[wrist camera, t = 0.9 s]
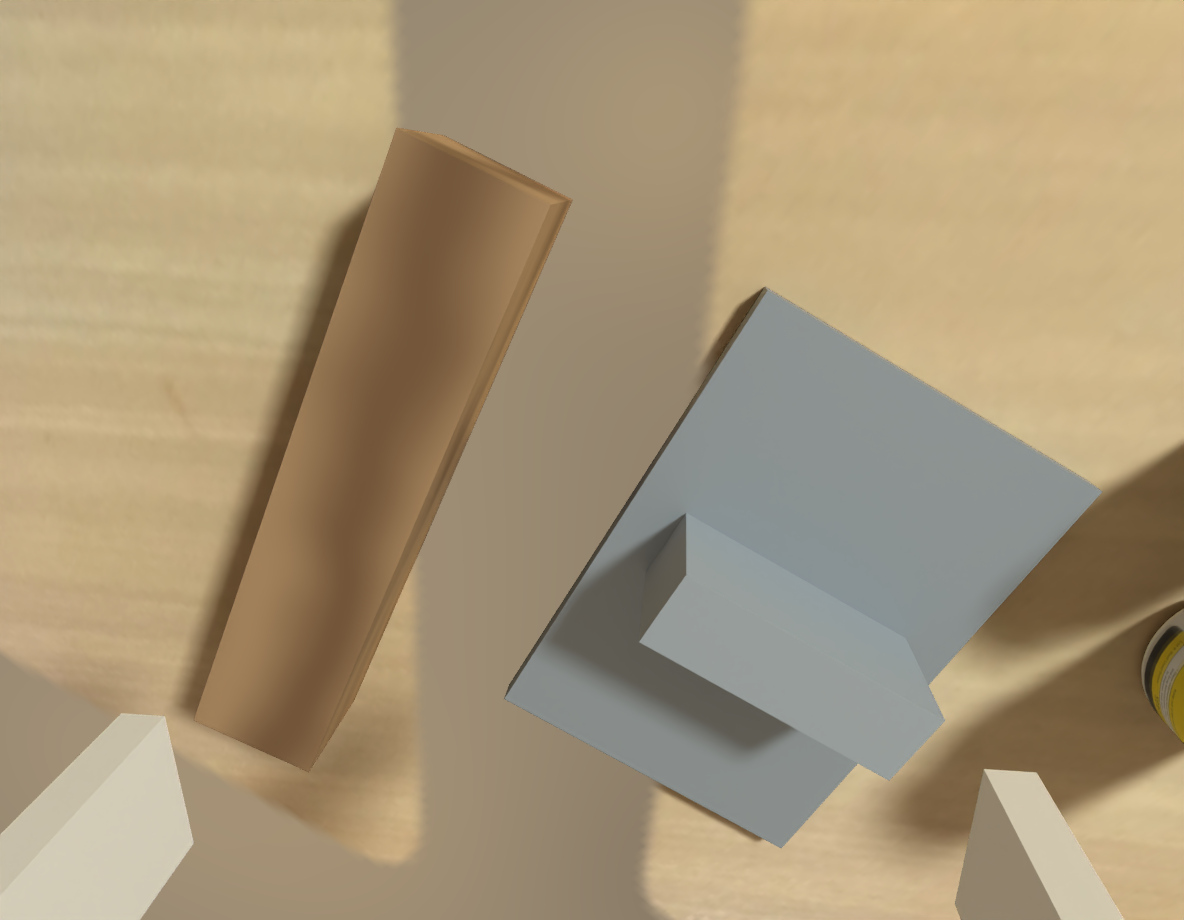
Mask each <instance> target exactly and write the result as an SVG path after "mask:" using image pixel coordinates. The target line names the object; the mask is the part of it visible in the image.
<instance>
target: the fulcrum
mask: <svg viewBox="0 0 1184 920" xmlns="http://www.w3.org/2000/svg"><path fill="white" fill-rule="evenodd" d="M1101 493H1102V491H1101V490H1099V489H1098V488H1097V487H1095V486H1094V485H1093V484H1092V483H1090V482H1089V481H1087V480H1085V479H1084V478H1082V477H1081V476H1079V475H1077V474H1076V473H1074V472H1072V471H1071V470H1069V469H1067V468H1066V467H1064V466H1062V465H1061V464H1059V463H1057V462H1056V461H1054V460H1052V459H1051V458H1049V457H1047V456H1046V455H1044V454H1042V453H1041V452H1039V451H1037V450H1036V449H1034V448H1032V447H1031V446H1029V445H1027V444H1026V443H1024V442H1022V441H1021V440H1019V439H1017V438H1016V437H1014V436H1012V435H1011V434H1009V433H1007V432H1006V431H1004V430H1002V429H1001V428H999V427H997V426H996V425H994V424H992V423H991V422H989V421H987V420H986V419H984V418H982V417H981V416H979V415H977V414H976V413H974V412H972V411H971V410H969V409H967V408H966V407H964V406H962V405H961V404H959V403H958V402H956V401H954V400H953V399H951V398H949V397H948V396H946V395H944V394H943V393H941V392H939V391H938V390H936V389H934V388H933V387H931V386H929V385H928V384H926V383H924V382H923V381H921V380H919V379H918V378H916V377H914V376H913V375H911V374H909V373H908V372H906V371H904V370H903V369H901V368H899V367H898V366H896V365H894V364H893V363H891V362H889V361H888V360H886V359H884V358H883V357H881V356H879V355H878V354H876V353H874V352H873V351H871V350H869V349H868V348H866V347H864V346H863V345H861V344H859V343H858V342H856V341H854V340H853V339H851V338H849V337H848V336H846V335H844V334H843V333H841V332H839V331H838V330H836V329H834V328H833V327H831V326H830V325H828V324H826V323H825V322H823V321H821V320H820V319H818V318H816V317H815V316H813V315H811V314H810V313H808V312H806V311H805V310H803V309H801V308H800V307H798V306H796V305H795V304H793V303H791V302H790V301H788V300H786V299H785V298H783V297H781V296H780V295H778V294H776V293H775V292H773V291H771V290H770V289H768V288H766V287H764V289H763V290H762V292H761V293H760V295H759V297H758V298H757V300H756V301H755V303H754V304H753V306H752V307H751V309H750V311H749V312H748V314H747V315H746V317H745V318H744V320H743V321H742V323H741V325H740V326H739V328H738V329H737V331H736V332H735V334H734V335H733V337H732V339H731V340H730V342H729V343H728V345H727V346H726V348H725V349H724V351H723V353H722V354H721V356H720V357H719V359H718V360H717V362H716V364H715V365H714V367H713V368H712V370H711V371H710V373H709V374H708V376H707V378H706V379H705V381H704V382H703V384H702V385H701V387H700V388H699V390H698V392H697V393H696V395H695V396H694V398H693V399H692V401H691V402H690V404H689V406H688V407H687V409H686V410H685V412H684V414H683V415H682V417H681V418H680V420H679V421H678V423H677V424H676V426H675V427H674V429H673V431H672V432H671V434H670V435H669V437H668V438H667V440H666V441H665V443H664V445H663V446H662V448H661V449H660V451H659V452H658V454H657V456H656V457H655V459H654V460H653V462H652V464H651V465H650V466H649V468H648V469H647V471H646V473H645V474H644V476H643V477H642V479H641V481H640V482H639V483H638V485H637V487H636V488H635V490H634V491H633V493H632V495H631V496H630V498H629V499H628V501H627V502H626V504H625V505H624V507H623V509H622V510H621V511H620V513H619V515H618V516H617V518H616V519H615V521H614V522H613V524H612V526H611V527H610V529H609V530H608V532H607V533H606V535H605V537H604V538H603V540H602V541H601V543H600V544H599V546H598V547H597V549H596V550H595V552H594V554H593V555H592V557H591V558H590V560H589V562H588V563H587V565H586V566H585V568H584V569H583V571H582V572H581V574H580V575H579V577H578V579H577V580H576V582H575V583H574V585H573V586H572V588H571V589H570V591H569V593H568V594H567V596H566V597H565V599H564V600H563V602H562V604H561V605H560V607H559V608H558V610H557V611H556V613H555V614H554V616H553V617H552V619H551V621H550V622H549V624H548V625H547V627H546V628H545V630H544V631H543V633H542V635H541V636H540V638H539V639H538V641H537V643H536V644H535V645H534V647H533V649H532V650H531V652H530V653H529V655H528V657H527V658H526V659H525V661H524V663H523V664H522V666H521V667H520V669H519V670H518V672H517V674H516V675H515V677H514V678H513V680H512V681H511V683H510V684H509V687H508V690H507V693H506V695H505V698H504V699H505V700H507V701H509V702H511V703H513V704H514V705H516V706H518V707H520V708H522V709H524V710H526V711H528V712H529V713H531V714H533V715H535V716H537V717H539V718H540V719H542V720H544V721H546V722H548V723H550V724H552V725H553V726H555V727H557V728H559V729H561V730H563V731H564V732H566V733H568V734H570V735H572V736H574V737H576V738H577V739H579V740H581V741H583V742H585V743H587V744H589V745H591V746H592V747H594V748H596V749H598V750H600V751H602V752H604V753H605V754H607V755H609V756H611V757H613V758H614V759H616V760H618V761H620V762H622V763H624V764H626V765H627V766H629V767H632V768H633V769H635V770H637V771H639V772H641V773H642V774H644V775H646V776H648V777H650V778H652V779H653V780H655V781H657V782H659V783H661V784H663V785H665V786H666V787H668V788H670V789H672V790H674V791H676V792H677V793H679V794H681V795H683V796H685V797H687V798H689V799H690V800H692V801H694V802H696V803H698V804H700V805H702V806H703V807H705V808H707V809H709V810H711V811H713V812H715V813H716V814H718V815H720V816H722V817H724V818H726V819H728V820H729V821H731V822H733V823H735V824H737V825H739V826H740V827H742V828H744V829H746V830H748V831H750V832H752V833H753V834H755V835H757V836H759V837H761V838H763V839H765V840H766V841H768V842H770V843H772V844H774V845H776V846H778V847H779V848H782V847H783V846H784V845H785V844H786V843H787V842H788V840H789V839H790V838H791V837H792V836H793V835H794V834H795V833H796V832H797V830H798V829H799V828H800V827H801V826H802V825H803V824H804V823H805V822H806V820H807V819H808V818H809V817H810V816H811V815H812V814H813V813H814V812H815V810H816V809H817V808H818V807H819V806H820V805H821V804H822V803H823V802H824V800H825V799H826V798H827V797H828V796H829V795H830V794H831V793H832V792H833V790H834V789H835V788H836V787H837V786H838V785H839V784H840V783H841V782H842V780H843V779H844V778H845V777H846V776H847V775H848V774H849V773H850V772H851V771H852V769H853V768H854V767H855V766H856V765H857V764H860V765H862V766H864V767H865V768H867V769H869V770H871V771H873V772H874V773H876V774H878V775H880V776H882V777H883V778H885V779H887V780H890V779H891V778H892V777H893V776H894V775H895V774H896V773H897V772H898V771H899V770H900V769H901V768H902V766H903V765H904V764H905V763H906V762H907V761H908V760H909V759H910V758H911V757H912V756H913V755H914V754H915V752H916V751H917V750H918V749H919V748H920V747H921V746H922V745H923V744H924V743H925V742H926V741H927V740H928V739H929V737H930V736H931V735H932V734H933V733H934V732H935V731H936V730H937V729H938V728H939V727H940V726H941V725H942V723H943V722H944V721H945V719H944V717H943V715H942V713H941V711H940V709H939V707H938V705H937V703H936V701H935V698H934V696H933V694H932V692H931V690H930V688H929V686H928V685H929V684H930V683H931V682H932V681H933V679H934V678H935V677H936V676H937V675H938V674H939V673H940V672H941V671H942V669H943V668H944V667H945V666H946V665H947V664H948V663H949V662H950V661H951V659H952V658H953V657H954V656H955V655H956V654H957V653H958V652H959V651H960V649H961V648H962V647H963V646H964V645H965V644H966V643H967V642H968V641H969V639H970V638H971V637H972V636H973V635H974V634H975V633H976V632H977V631H978V629H979V628H980V627H981V626H982V625H983V624H984V623H985V622H986V621H987V619H988V618H989V617H990V616H991V615H992V614H993V613H994V612H995V611H996V609H997V608H998V607H999V606H1000V605H1001V604H1002V603H1003V602H1004V601H1005V599H1006V598H1007V597H1008V596H1009V595H1010V594H1011V593H1012V592H1013V591H1014V589H1015V588H1016V587H1017V586H1018V585H1019V584H1020V583H1021V582H1022V581H1023V579H1024V578H1025V577H1026V576H1027V575H1028V574H1029V573H1030V572H1031V571H1032V569H1033V568H1034V567H1035V566H1036V565H1037V564H1038V563H1039V562H1040V561H1041V560H1042V558H1043V557H1044V556H1045V555H1046V554H1047V553H1048V552H1049V551H1050V550H1051V548H1052V547H1053V546H1054V545H1055V544H1056V543H1057V542H1058V541H1059V540H1060V538H1061V537H1062V536H1063V535H1064V534H1065V533H1066V532H1067V531H1068V530H1069V528H1070V527H1071V526H1072V525H1073V524H1074V523H1075V522H1076V521H1077V520H1078V518H1079V517H1080V516H1081V515H1082V514H1083V513H1084V512H1085V511H1086V510H1087V508H1088V507H1089V506H1090V505H1091V504H1092V503H1093V502H1094V501H1095V500H1096V498H1097V497H1098V496H1099V495H1100V494H1101Z"/></svg>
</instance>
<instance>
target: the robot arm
mask: <svg viewBox="0 0 1184 920" xmlns="http://www.w3.org/2000/svg"><path fill="white" fill-rule="evenodd" d="M193 844H194V842H193V837H192V833H191V828H190V825H189V820H188V815H187V811H186V807H185V802H184V798H183V794H182V789H181V785H180V781H179V776H178V772H177V767H176V763H175V759H174V755H173V750H172V746H171V741H170V737H169V733H168V728H167V724H166V720H165V716H155V715H139V714H124V713H121V714H120V715H119V716H118V717H117V718H116V719H115V720H114V721H113V722H112V723H111V724H110V725H109V726H108V727H107V728H106V729H105V730H104V731H103V732H102V733H101V734H100V735H99V736H98V737H97V738H96V739H95V740H94V741H93V742H92V743H91V744H90V745H89V746H88V747H87V748H86V749H85V750H84V751H83V752H82V753H81V754H80V755H79V756H78V757H77V758H76V759H75V760H74V761H73V762H72V763H71V764H70V765H69V766H68V767H67V768H66V769H65V770H64V771H63V772H62V773H61V774H60V775H59V776H58V777H57V778H56V779H55V780H54V781H53V782H52V783H51V784H50V785H49V786H48V787H47V788H46V789H45V790H44V791H43V792H42V793H41V794H40V795H39V796H38V797H37V798H36V799H35V800H34V801H33V802H32V803H31V804H30V805H29V806H28V807H27V808H26V809H25V810H24V811H23V812H22V813H21V814H20V815H19V816H18V817H17V818H16V819H15V820H14V821H13V822H12V823H11V824H10V825H9V826H8V827H7V828H6V829H5V830H4V831H3V832H2V833H1V834H0V920H140V919H141V918H142V916H143V915H144V913H145V912H146V911H147V909H148V908H149V906H150V905H151V903H152V902H153V901H154V899H155V898H156V896H157V895H158V894H159V892H160V890H161V889H162V888H163V886H164V885H165V883H166V882H167V881H168V879H169V878H170V876H171V875H172V874H173V872H174V871H175V869H176V868H177V866H178V865H179V864H180V862H181V861H182V859H183V858H184V857H185V855H186V854H187V852H188V851H189V849H190V848H191V847H192V845H193ZM955 905H956V908H957V910H958V913H959V916H960V918H961V920H1124V918H1123V917H1122V915H1121V913H1120V912H1119V910H1118V908H1117V907H1116V905H1115V903H1114V902H1113V900H1112V898H1111V896H1110V895H1109V893H1108V891H1107V890H1106V888H1105V886H1104V885H1103V883H1102V881H1101V880H1100V878H1099V876H1098V875H1097V873H1096V871H1095V870H1094V868H1093V866H1092V865H1091V863H1090V861H1089V860H1088V858H1087V856H1086V855H1085V853H1084V851H1083V850H1082V848H1081V846H1080V844H1079V843H1078V841H1077V839H1076V838H1075V836H1074V834H1073V833H1072V831H1071V829H1070V828H1069V826H1068V824H1067V823H1066V821H1065V819H1064V818H1063V816H1062V814H1061V813H1060V811H1059V809H1058V808H1057V806H1056V804H1055V803H1054V801H1053V799H1052V798H1051V796H1050V794H1049V793H1048V791H1047V789H1046V787H1045V786H1044V784H1043V782H1042V781H1041V779H1040V777H1039V776H1038V774H1037V772H1023V771H1007V770H992V769H984V770H983V775H982V780H981V784H980V789H979V794H978V798H977V803H976V808H975V812H974V817H973V821H972V826H971V831H970V835H969V840H968V845H967V849H966V854H965V859H964V863H963V868H962V873H961V877H960V882H959V887H958V891H957V896H956V901H955Z"/></svg>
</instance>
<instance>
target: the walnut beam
mask: <svg viewBox="0 0 1184 920" xmlns="http://www.w3.org/2000/svg"><path fill="white" fill-rule="evenodd" d="M572 201H573V199H571V198H569V197H567V196H565V195H563V194H561V193H559V192H557V191H555V190H553V189H551V188H549V187H547V186H545V185H543V184H541V183H539V182H537V181H535V180H533V179H531V178H529V177H527V176H525V175H523V174H521V173H519V172H517V171H515V170H513V169H511V168H509V167H507V166H505V165H503V164H501V163H499V162H497V161H495V160H493V159H491V158H489V157H487V156H485V155H483V154H481V153H479V152H477V151H475V150H473V149H471V148H469V147H467V146H465V145H463V144H461V143H459V142H457V141H455V140H453V139H451V138H449V137H447V136H444V135H439V134H432V133H426V132H420V131H414V130H408V129H402V128H396V130H395V133H394V136H393V139H392V142H391V145H390V148H389V151H388V154H387V157H386V160H385V163H384V165H383V168H382V171H381V174H380V177H379V180H378V183H377V186H376V189H375V192H374V195H373V198H372V200H371V203H370V206H369V209H368V212H367V215H366V218H365V221H364V224H363V227H362V230H361V233H360V236H359V238H358V241H357V244H356V247H355V250H354V253H353V256H352V259H351V262H350V265H349V268H348V271H347V274H346V276H345V279H344V282H343V285H342V288H341V291H340V294H339V297H338V300H337V303H336V306H335V309H334V311H333V314H332V317H331V320H330V323H329V326H328V329H327V332H326V335H325V338H324V341H323V344H322V347H321V349H320V352H319V355H318V358H317V361H316V364H315V367H314V370H313V373H312V376H311V379H310V382H309V384H308V387H307V390H306V393H305V396H304V399H303V402H302V405H301V408H300V411H299V414H298V417H297V420H296V422H295V425H294V428H293V431H292V434H291V437H290V440H289V443H288V446H287V449H286V452H285V455H284V457H283V460H282V463H281V466H280V469H279V472H278V475H277V478H276V481H275V484H274V487H273V490H272V493H271V495H270V498H269V501H268V504H267V507H266V510H265V513H264V516H263V519H262V522H261V525H260V528H259V531H258V533H257V536H256V539H255V542H254V545H253V548H252V551H251V554H250V557H249V560H248V563H247V566H246V568H245V571H244V574H243V577H242V580H241V583H240V586H239V589H238V592H237V595H236V598H235V601H234V604H233V606H232V609H231V612H230V615H229V618H228V621H227V624H226V627H225V630H224V633H223V636H222V639H221V641H220V644H219V647H218V650H217V653H216V656H215V659H214V662H213V665H212V668H211V671H210V674H209V677H208V679H207V682H206V685H205V688H204V691H203V694H202V697H201V700H200V703H199V706H198V709H197V712H196V714H195V717H194V721H196V722H199V723H201V724H203V725H205V726H208V727H210V728H212V729H214V730H216V731H219V732H221V733H223V734H225V735H228V736H230V737H232V738H234V739H236V740H239V741H241V742H243V743H245V744H248V745H250V746H252V747H254V748H256V749H259V750H261V751H263V752H265V753H267V754H270V755H272V756H274V757H276V758H279V759H281V760H283V761H285V762H287V763H290V764H292V765H294V766H296V767H299V768H301V769H303V770H305V771H307V772H309V771H310V770H311V768H312V766H313V765H314V763H315V762H316V760H317V758H318V757H319V755H320V754H321V752H322V750H323V749H324V747H325V746H326V744H327V743H328V741H329V739H330V738H331V736H332V735H333V733H334V731H335V730H336V728H337V727H338V725H339V723H340V722H341V720H342V719H343V717H344V716H345V714H346V712H347V711H348V709H349V708H350V706H351V704H352V703H353V701H354V700H355V697H356V695H357V693H358V690H359V688H360V686H361V683H362V681H363V679H364V677H365V674H366V672H367V670H368V667H369V665H370V663H371V660H372V658H373V656H374V654H375V651H376V649H377V647H378V644H379V642H380V640H381V638H382V635H383V633H384V631H385V628H386V626H387V624H388V621H389V619H390V617H391V615H392V612H393V610H394V608H395V605H396V603H397V601H398V598H399V596H400V594H401V592H402V589H403V587H404V585H405V582H406V580H407V578H408V575H409V573H410V571H411V569H412V566H414V564H415V561H416V559H417V557H418V554H419V552H420V550H421V548H422V545H423V543H424V541H425V538H426V536H427V534H428V532H429V529H430V526H431V525H432V522H433V520H434V518H435V515H436V513H437V511H438V509H439V506H440V504H441V501H442V499H443V497H444V495H445V493H446V490H447V488H448V486H449V483H450V481H451V479H452V476H453V474H454V472H455V469H456V467H457V465H458V463H459V460H460V458H461V456H462V453H463V451H464V449H465V446H466V444H467V442H468V440H469V437H470V435H471V433H472V430H473V428H474V426H475V424H476V421H477V419H478V417H479V414H480V412H481V410H482V408H483V405H484V403H485V401H486V398H487V396H488V394H489V392H490V389H491V387H492V384H493V382H494V380H495V378H496V375H497V373H498V371H499V368H500V366H501V364H502V362H503V359H504V357H505V355H506V352H507V350H508V348H509V346H510V343H511V341H512V339H513V336H514V334H515V332H516V330H517V327H518V325H519V322H520V320H521V318H522V316H523V313H524V311H525V309H526V307H527V304H528V302H529V300H530V297H531V295H532V293H533V291H534V288H535V286H536V283H537V281H538V279H539V277H540V274H541V272H542V270H543V268H544V265H545V263H546V261H547V258H548V256H549V254H550V251H551V249H552V247H553V245H554V242H555V240H556V238H557V235H558V233H559V231H560V228H561V226H562V224H563V222H564V219H565V217H566V215H567V212H568V210H569V208H570V206H571V203H572Z"/></svg>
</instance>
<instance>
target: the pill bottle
mask: <svg viewBox="0 0 1184 920" xmlns="http://www.w3.org/2000/svg"><path fill="white" fill-rule="evenodd" d="M1141 677H1142V684H1143V688H1144V691H1145V694H1146V697H1147V699H1148V701H1149V702H1150V704H1151V706H1152V707H1153V709H1154V710H1155V711H1156V713H1157V714H1158V715H1159V716H1160V717H1161V719H1162V720H1163V721H1164V722H1165V723H1166V724H1167V725H1168V726H1169V728H1170V729H1171V730H1172V731H1173V732H1174V733H1175V734H1176V735H1177V737H1178V738H1179V739H1180V740H1181V741H1182V742H1183V743H1184V609H1182V610H1181V611H1179V612H1177V613H1176V614H1175V615H1174V616H1172V617H1171V618H1170V619H1169V620H1167V621H1166V622H1165V623H1164V624H1163V625H1162V626H1161V628H1160V629H1159V630H1158V631H1157V632H1156V633H1155V635H1154V636H1153V638H1152V639H1151V641H1150V643H1149V645H1148V647H1147V649H1146V652H1145V654H1144V658H1143V662H1142V669H1141Z"/></svg>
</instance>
